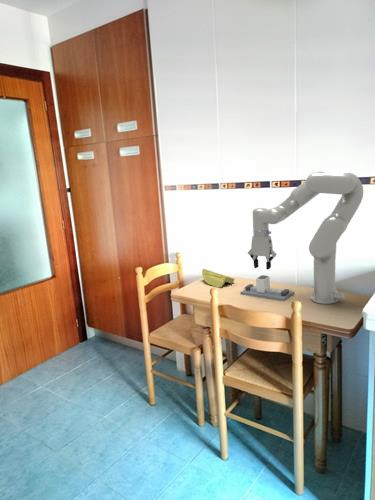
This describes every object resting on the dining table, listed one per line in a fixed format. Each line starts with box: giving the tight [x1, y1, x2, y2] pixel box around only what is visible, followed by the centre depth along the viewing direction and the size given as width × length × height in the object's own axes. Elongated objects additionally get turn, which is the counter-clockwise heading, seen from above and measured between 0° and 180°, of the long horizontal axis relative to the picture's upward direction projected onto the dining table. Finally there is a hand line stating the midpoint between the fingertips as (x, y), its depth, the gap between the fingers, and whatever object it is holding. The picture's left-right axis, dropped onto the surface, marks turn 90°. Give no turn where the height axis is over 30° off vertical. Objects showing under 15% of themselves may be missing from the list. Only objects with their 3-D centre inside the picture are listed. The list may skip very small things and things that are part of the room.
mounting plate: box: [239, 287, 295, 302], centre depth 198 cm, size 24×12×1 cm, turn 52°
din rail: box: [244, 283, 290, 296], centre depth 198 cm, size 22×5×2 cm, turn 52°
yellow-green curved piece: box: [201, 268, 235, 289], centre depth 224 cm, size 20×7×10 cm
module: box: [255, 275, 271, 293], centre depth 199 cm, size 4×6×8 cm
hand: (262, 267), depth 197 cm, fingers open, 6 cm apart
